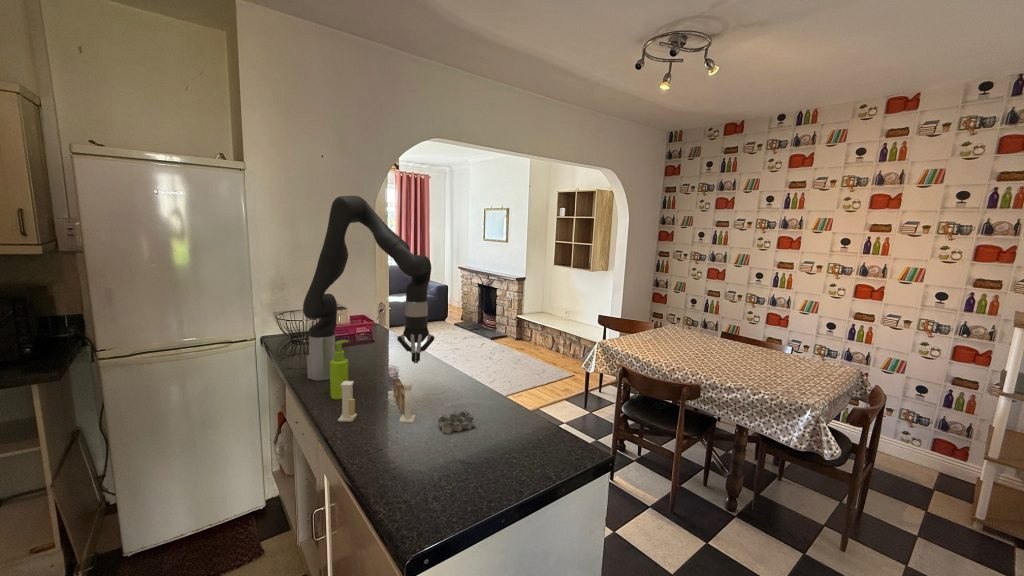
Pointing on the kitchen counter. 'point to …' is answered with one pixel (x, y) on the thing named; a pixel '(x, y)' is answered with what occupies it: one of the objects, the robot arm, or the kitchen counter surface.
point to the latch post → (347, 402)
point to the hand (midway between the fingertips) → (415, 362)
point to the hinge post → (407, 405)
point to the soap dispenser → (338, 371)
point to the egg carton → (447, 421)
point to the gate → (399, 393)
